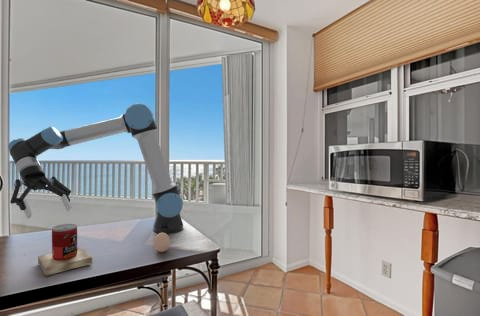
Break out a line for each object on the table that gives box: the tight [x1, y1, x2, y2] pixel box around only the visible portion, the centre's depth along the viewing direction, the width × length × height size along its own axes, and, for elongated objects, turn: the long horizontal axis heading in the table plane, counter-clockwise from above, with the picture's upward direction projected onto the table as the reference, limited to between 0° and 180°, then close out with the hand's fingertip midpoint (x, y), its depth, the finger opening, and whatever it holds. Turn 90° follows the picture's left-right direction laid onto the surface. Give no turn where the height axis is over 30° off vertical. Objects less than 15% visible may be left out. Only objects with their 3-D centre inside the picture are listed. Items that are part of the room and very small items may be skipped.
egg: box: [153, 232, 171, 253], centre depth 114 cm, size 7×7×8 cm
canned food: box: [51, 223, 78, 260], centre depth 100 cm, size 8×8×11 cm
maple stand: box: [37, 246, 93, 277], centre depth 100 cm, size 14×14×3 cm
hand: (50, 212), depth 104 cm, fingers open, 13 cm apart
